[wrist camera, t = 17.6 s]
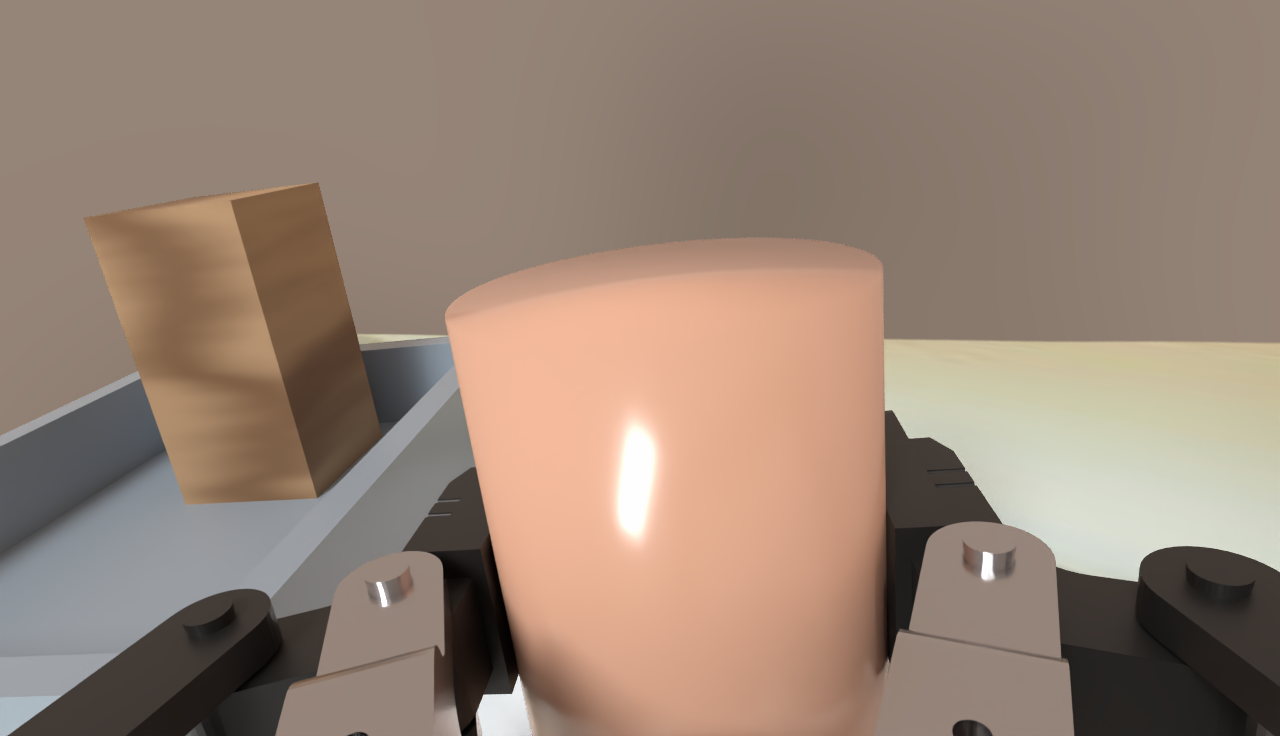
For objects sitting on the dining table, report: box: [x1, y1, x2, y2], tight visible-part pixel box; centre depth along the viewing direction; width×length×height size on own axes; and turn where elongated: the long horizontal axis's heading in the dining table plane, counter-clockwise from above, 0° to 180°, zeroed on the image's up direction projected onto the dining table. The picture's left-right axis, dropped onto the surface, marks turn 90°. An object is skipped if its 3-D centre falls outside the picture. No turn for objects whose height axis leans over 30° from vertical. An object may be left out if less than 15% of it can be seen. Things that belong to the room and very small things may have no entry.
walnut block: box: [84, 183, 382, 505], centre depth 27 cm, size 5×5×10 cm
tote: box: [0, 337, 476, 736], centre depth 23 cm, size 20×16×4 cm
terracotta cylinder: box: [445, 238, 888, 736], centre depth 10 cm, size 5×5×10 cm
